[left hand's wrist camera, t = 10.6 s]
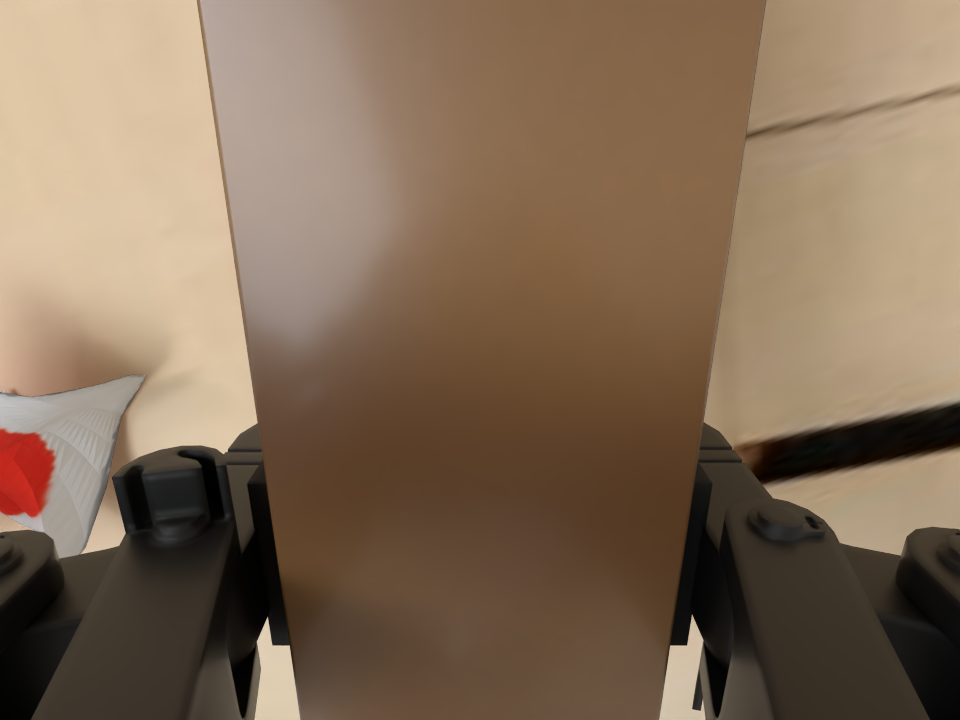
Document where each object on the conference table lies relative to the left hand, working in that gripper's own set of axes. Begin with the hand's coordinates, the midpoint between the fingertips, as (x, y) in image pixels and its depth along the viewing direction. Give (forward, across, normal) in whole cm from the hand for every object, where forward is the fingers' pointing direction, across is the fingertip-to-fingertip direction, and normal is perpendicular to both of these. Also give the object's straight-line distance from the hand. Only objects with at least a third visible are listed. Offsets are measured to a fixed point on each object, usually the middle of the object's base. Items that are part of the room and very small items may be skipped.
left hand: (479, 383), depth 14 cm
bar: (+1, 0, -21) cm, 21 cm away
